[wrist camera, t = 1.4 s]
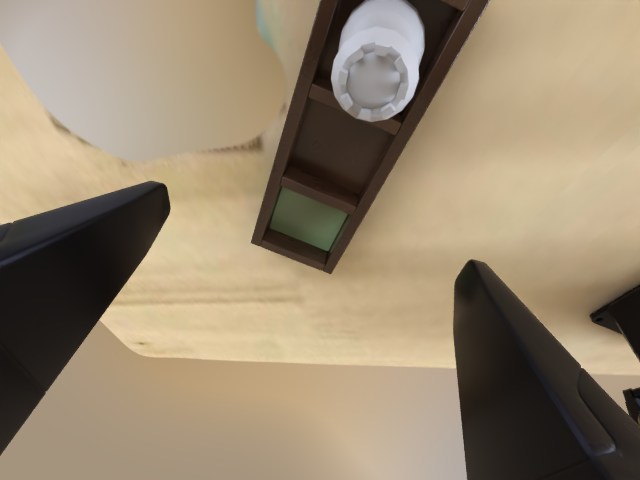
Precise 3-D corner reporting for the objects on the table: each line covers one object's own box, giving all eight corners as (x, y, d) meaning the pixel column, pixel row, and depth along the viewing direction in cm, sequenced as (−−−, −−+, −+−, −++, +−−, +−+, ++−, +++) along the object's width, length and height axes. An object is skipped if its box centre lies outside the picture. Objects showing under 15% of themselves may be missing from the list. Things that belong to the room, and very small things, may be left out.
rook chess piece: (433, 69, 18) (451, 122, 12) (357, 100, 20) (338, 160, 14) (412, -27, 15) (421, -22, 9) (328, 18, 17) (289, 46, 11)
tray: (481, -5, 16) (491, -1, 14) (334, 257, 29) (330, 274, 27) (347, -71, 15) (341, -75, 14) (258, 227, 28) (250, 243, 26)
